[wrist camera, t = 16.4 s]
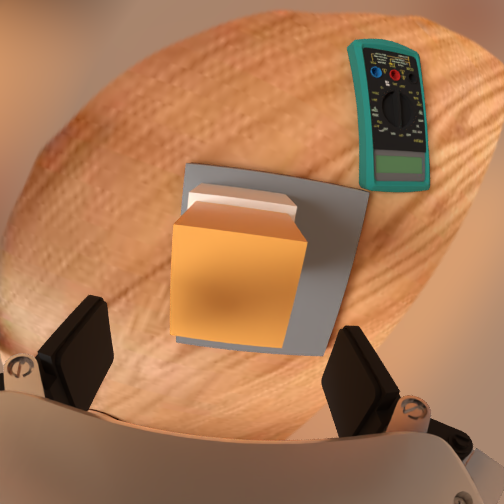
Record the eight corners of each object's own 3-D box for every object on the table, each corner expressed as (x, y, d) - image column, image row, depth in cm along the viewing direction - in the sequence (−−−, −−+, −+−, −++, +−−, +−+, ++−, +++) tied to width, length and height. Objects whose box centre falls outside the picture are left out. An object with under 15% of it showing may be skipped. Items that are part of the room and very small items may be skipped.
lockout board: (320, 348, 31) (335, 391, 24) (178, 334, 30) (165, 377, 23) (363, 190, 25) (399, 204, 18) (189, 162, 24) (168, 167, 17)
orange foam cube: (272, 295, 20) (281, 348, 15) (188, 284, 20) (169, 334, 14) (288, 213, 18) (307, 242, 13) (195, 200, 18) (173, 224, 12)
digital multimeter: (407, 52, 20) (421, 45, 17) (418, 188, 25) (434, 193, 22) (343, 42, 20) (353, 31, 17) (356, 189, 25) (368, 193, 22)
